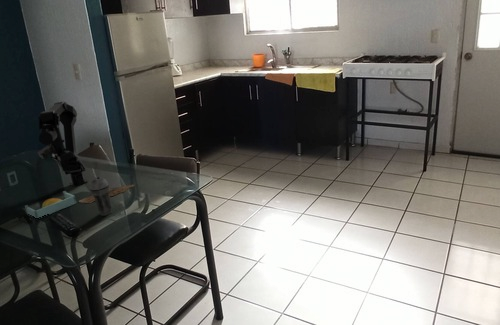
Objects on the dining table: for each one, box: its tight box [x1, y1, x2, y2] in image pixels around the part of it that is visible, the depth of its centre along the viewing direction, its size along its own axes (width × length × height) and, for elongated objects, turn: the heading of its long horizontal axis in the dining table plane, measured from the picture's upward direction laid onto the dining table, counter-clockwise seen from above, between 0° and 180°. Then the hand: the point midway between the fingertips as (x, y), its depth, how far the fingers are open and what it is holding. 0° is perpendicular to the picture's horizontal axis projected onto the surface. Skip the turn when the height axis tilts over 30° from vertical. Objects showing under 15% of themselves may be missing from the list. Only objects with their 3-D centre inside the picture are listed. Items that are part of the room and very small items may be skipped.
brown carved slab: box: [77, 184, 135, 204], centre depth 188 cm, size 26×11×1 cm, turn 121°
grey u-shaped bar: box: [24, 190, 78, 219], centre depth 178 cm, size 10×18×4 cm, turn 138°
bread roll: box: [41, 197, 62, 208], centre depth 180 cm, size 8×9×4 cm
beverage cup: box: [89, 167, 113, 217], centre depth 164 cm, size 7×7×20 cm
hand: (64, 170), depth 190 cm, fingers closed
